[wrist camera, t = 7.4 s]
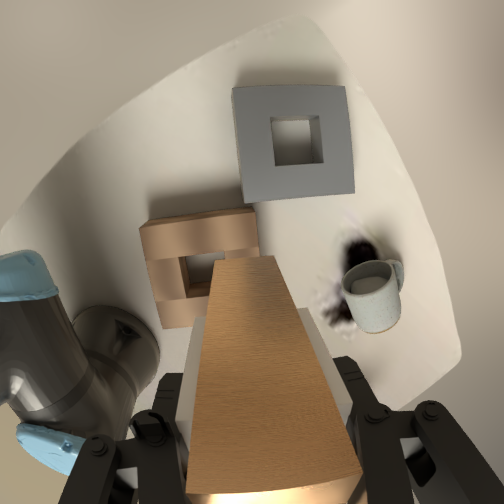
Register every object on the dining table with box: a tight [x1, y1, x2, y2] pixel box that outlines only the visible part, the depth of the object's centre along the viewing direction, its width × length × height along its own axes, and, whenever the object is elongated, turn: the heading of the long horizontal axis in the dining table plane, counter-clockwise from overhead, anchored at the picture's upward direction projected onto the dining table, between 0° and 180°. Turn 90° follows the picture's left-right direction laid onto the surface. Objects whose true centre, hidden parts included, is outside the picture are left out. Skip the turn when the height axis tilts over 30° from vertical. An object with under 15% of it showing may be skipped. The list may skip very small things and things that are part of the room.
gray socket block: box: [231, 85, 355, 203], centre depth 32 cm, size 13×13×4 cm
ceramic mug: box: [341, 259, 404, 334], centre depth 37 cm, size 11×8×8 cm
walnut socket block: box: [139, 206, 260, 329], centre depth 35 cm, size 13×13×4 cm
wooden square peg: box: [186, 256, 363, 504], centre depth 13 cm, size 4×4×16 cm
